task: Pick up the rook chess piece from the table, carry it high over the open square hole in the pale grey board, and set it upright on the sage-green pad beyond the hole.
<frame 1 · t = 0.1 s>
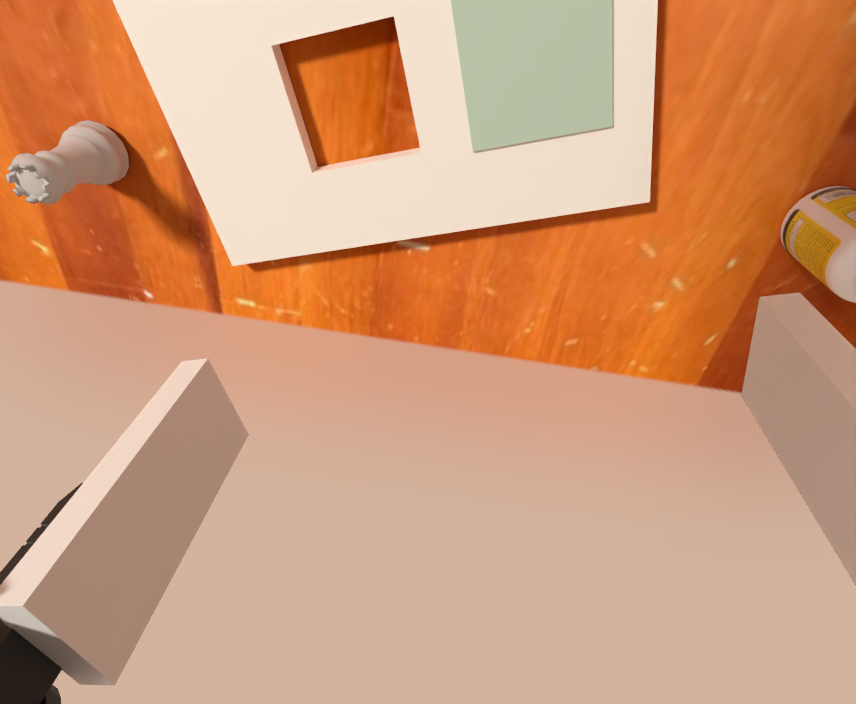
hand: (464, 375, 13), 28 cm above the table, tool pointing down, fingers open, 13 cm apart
supplement bottle: (818, 220, 37), on the table
rook chess piece: (104, 149, 39), on the table
hole board: (396, 88, 35), on the table
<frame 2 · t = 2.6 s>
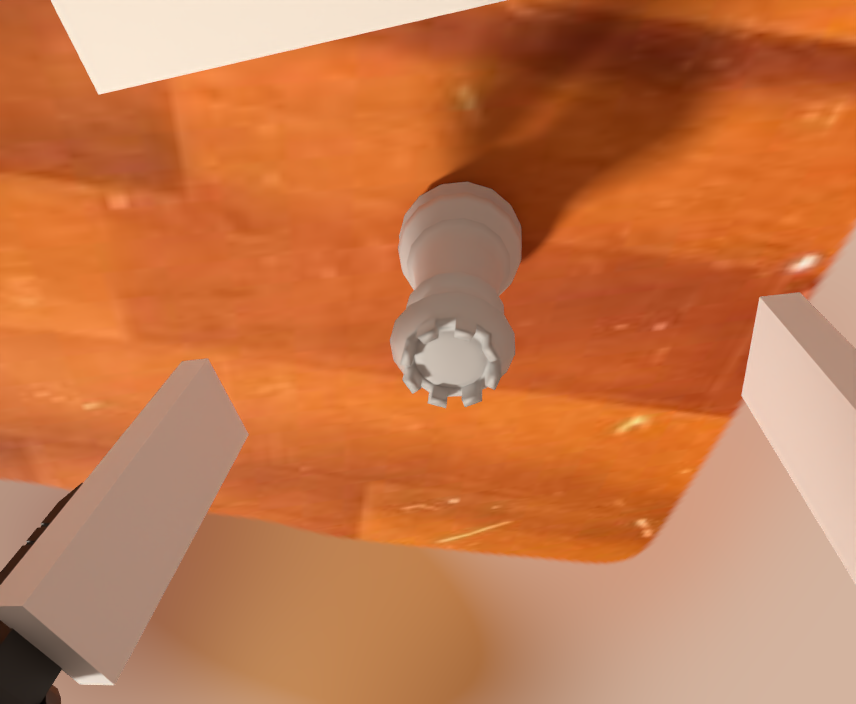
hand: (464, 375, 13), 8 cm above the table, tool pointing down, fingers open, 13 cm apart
rook chess piece: (460, 235, 19), on the table
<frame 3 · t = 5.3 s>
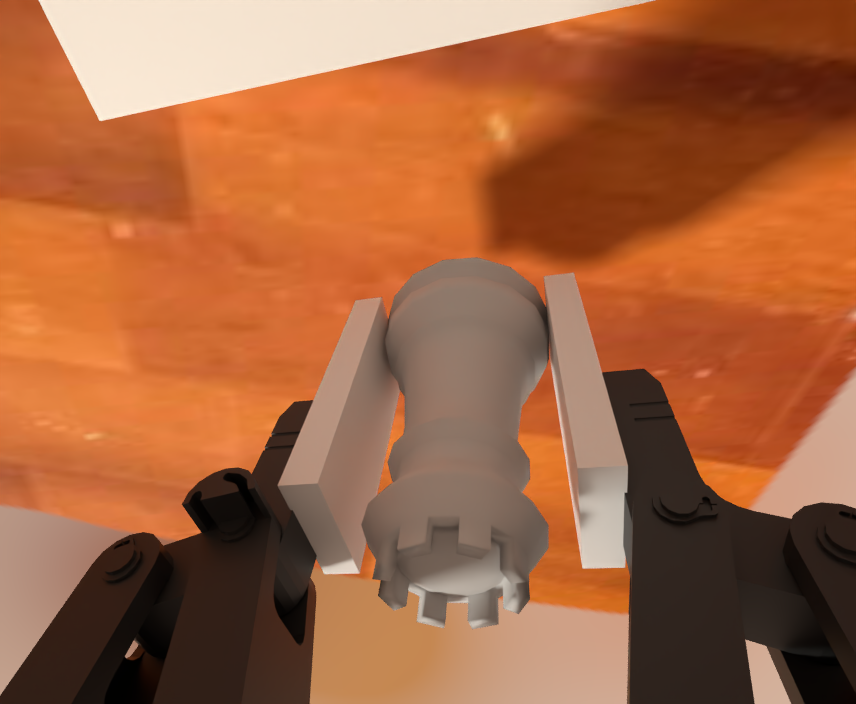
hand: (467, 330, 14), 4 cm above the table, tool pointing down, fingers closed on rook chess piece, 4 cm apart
rook chess piece: (468, 318, 15), point 3 cm above the table, touching gripper
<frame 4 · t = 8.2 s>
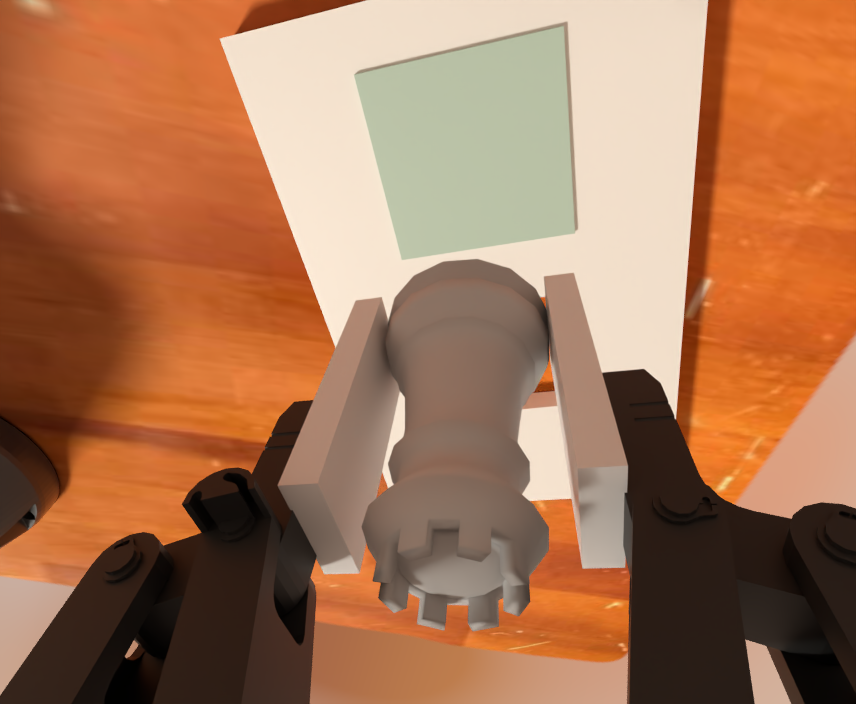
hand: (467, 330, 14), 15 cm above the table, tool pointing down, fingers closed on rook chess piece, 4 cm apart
rook chess piece: (468, 319, 15), point 14 cm above the table, touching gripper
hole board: (496, 305, 31), on the table
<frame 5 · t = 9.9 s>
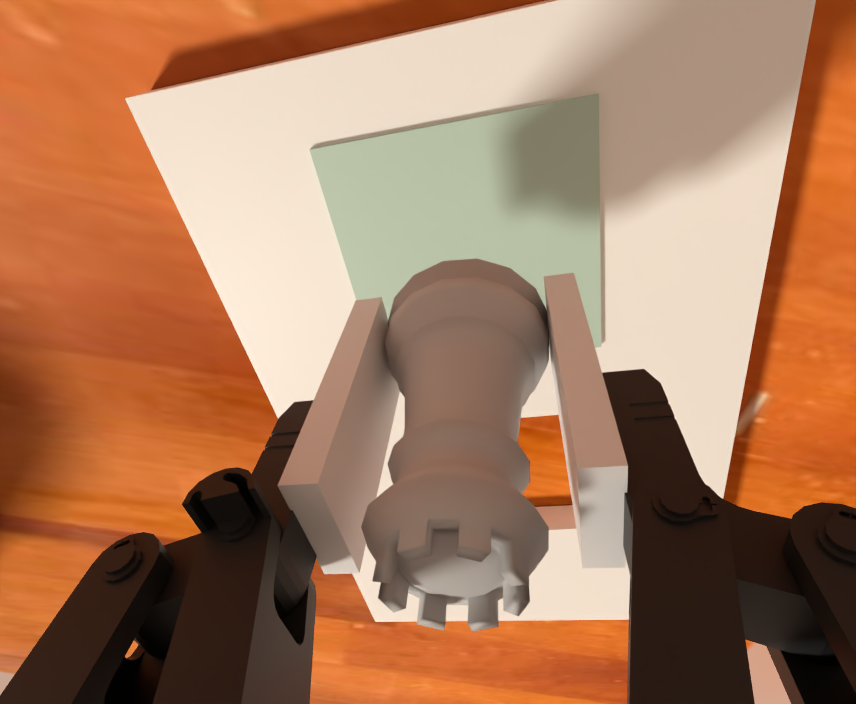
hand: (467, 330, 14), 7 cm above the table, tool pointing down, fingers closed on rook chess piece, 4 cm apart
rook chess piece: (468, 319, 15), point 6 cm above the table, touching gripper
hole board: (497, 413, 25), on the table
when the fingers open (3 cm above the table, at t = 11.3 s): rook chess piece stays where it is, resting on hole board.
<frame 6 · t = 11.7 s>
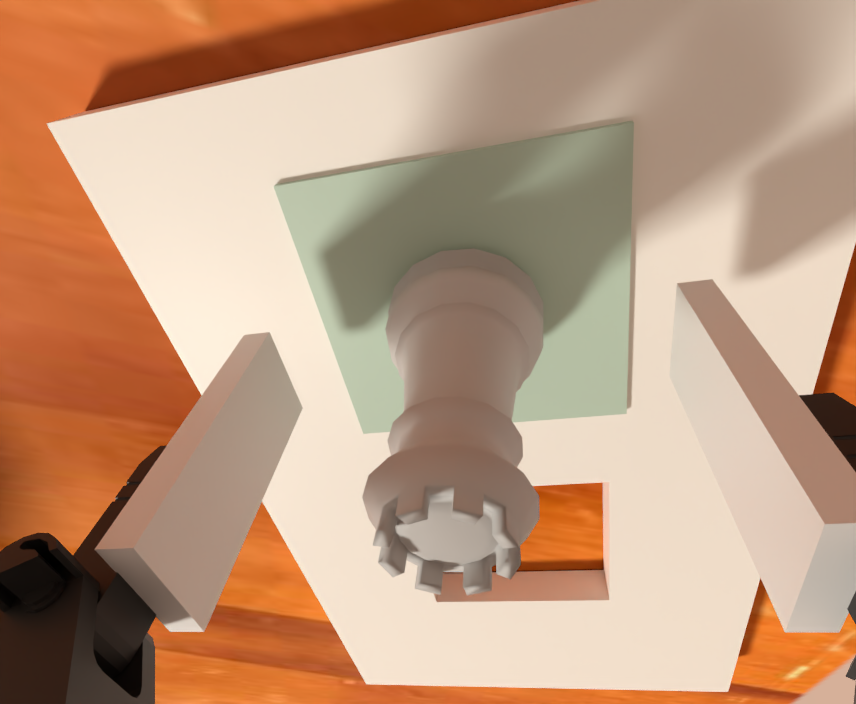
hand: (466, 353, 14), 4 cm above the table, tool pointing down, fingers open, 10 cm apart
rook chess piece: (466, 308, 15), point 2 cm above the table, touching hole board
hole board: (502, 475, 22), on the table
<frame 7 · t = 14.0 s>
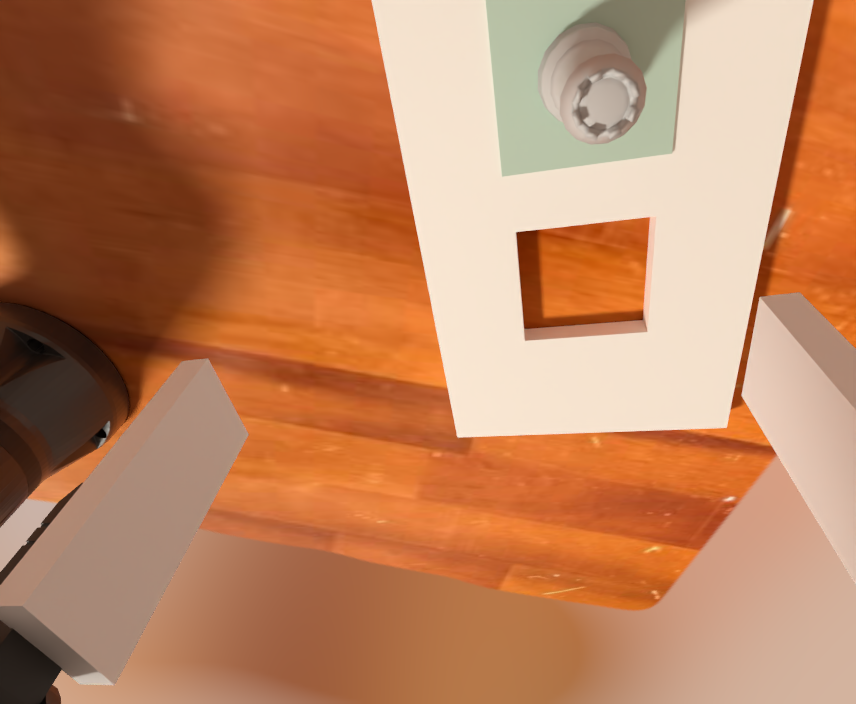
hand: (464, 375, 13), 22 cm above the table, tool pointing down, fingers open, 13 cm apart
rook chess piece: (581, 73, 26), point 2 cm above the table, touching hole board
hole board: (581, 230, 32), on the table
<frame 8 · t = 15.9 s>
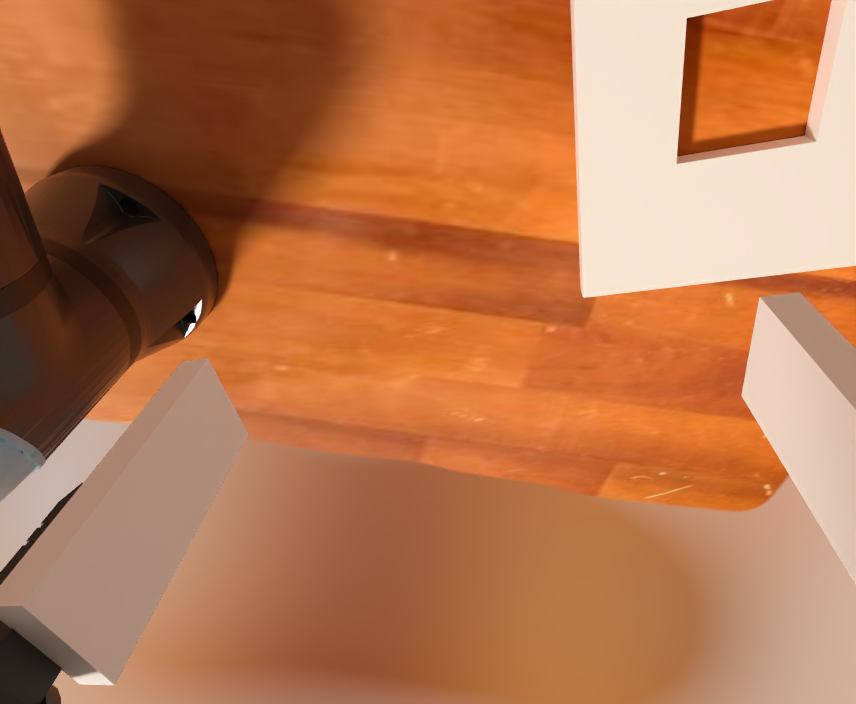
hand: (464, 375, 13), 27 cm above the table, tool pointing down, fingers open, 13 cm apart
hole board: (752, 21, 30), on the table
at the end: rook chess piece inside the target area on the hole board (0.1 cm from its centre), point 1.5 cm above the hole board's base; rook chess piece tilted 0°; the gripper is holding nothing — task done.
